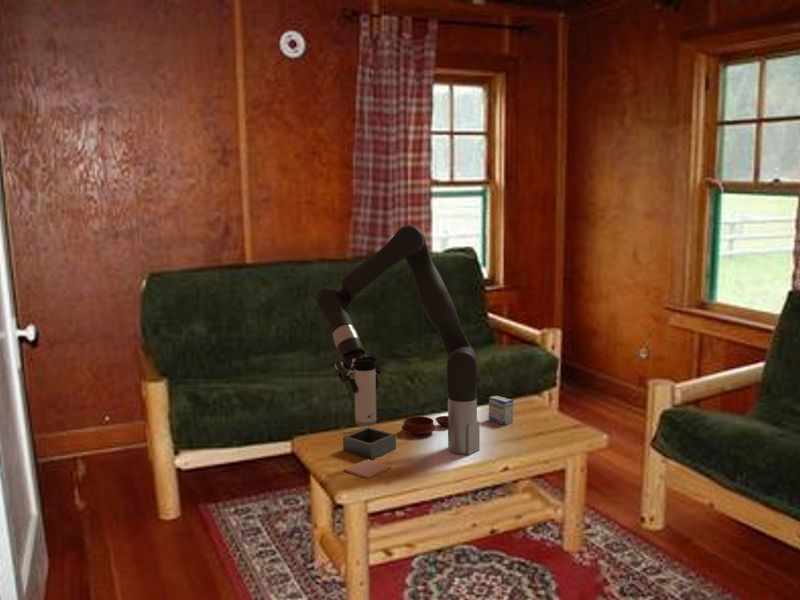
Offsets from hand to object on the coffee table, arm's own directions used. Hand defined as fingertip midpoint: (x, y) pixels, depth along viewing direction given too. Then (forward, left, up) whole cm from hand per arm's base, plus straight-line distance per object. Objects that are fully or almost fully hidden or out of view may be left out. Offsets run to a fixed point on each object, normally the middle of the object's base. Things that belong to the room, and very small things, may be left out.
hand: (366, 389), depth 212 cm
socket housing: (+11, -12, -25) cm, 30 cm away
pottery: (+7, -39, -25) cm, 47 cm away
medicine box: (-7, -62, -25) cm, 68 cm away
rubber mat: (+1, 0, -25) cm, 25 cm away
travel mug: (+1, 0, -11) cm, 11 cm away
